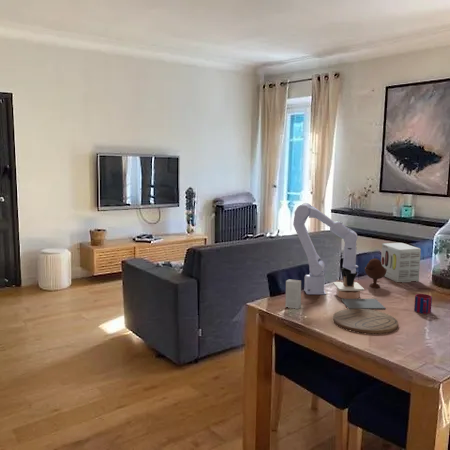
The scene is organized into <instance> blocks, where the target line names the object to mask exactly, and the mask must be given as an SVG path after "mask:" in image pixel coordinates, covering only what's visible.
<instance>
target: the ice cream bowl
mask: <svg viewBox="0 0 450 450" xmlns="http://www.w3.org/2000/svg"><path fill="white" fill-rule="evenodd" d="M364 271H365V272H364V273H365V274H366V276H368V277H369V278H370V279H372V281H373V282H372V283H370V284H369V288H371V289H380V288H381V285H380V284H378V280H380V279H382V278H384V277H385V274H386V271H387V269H386V268H384V267H383V266H382V264H381V259H378V258H372V259H370V260H369V261H368V262H367V264H366V266H364Z"/></svg>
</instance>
